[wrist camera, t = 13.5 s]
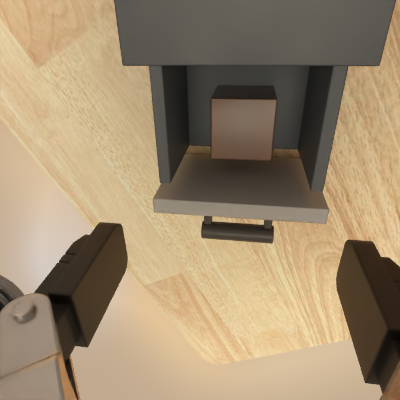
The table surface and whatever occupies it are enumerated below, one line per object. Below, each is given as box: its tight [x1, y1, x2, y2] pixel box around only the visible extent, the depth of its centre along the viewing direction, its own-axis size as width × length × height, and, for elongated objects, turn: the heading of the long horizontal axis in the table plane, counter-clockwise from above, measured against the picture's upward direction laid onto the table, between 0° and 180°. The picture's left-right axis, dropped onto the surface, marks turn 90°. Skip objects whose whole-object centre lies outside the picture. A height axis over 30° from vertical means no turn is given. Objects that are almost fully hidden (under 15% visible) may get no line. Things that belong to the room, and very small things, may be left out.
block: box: [211, 86, 277, 161], centre depth 24 cm, size 4×4×4 cm
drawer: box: [149, 66, 348, 243], centre depth 24 cm, size 18×12×9 cm
